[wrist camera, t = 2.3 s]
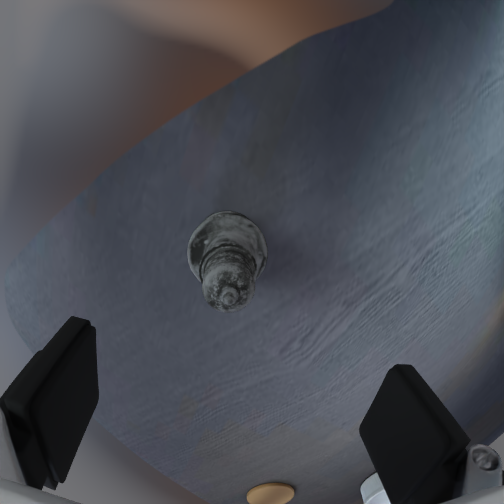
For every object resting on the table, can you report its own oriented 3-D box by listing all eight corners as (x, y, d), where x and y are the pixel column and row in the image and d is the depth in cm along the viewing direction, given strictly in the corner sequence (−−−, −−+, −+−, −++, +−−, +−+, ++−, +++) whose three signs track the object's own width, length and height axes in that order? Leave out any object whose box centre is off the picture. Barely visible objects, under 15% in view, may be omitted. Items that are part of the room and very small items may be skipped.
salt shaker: (273, 257, 28) (306, 324, 16) (211, 286, 28) (205, 368, 17) (243, 195, 26) (258, 221, 15) (179, 226, 26) (146, 276, 15)
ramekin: (357, 499, 41) (364, 517, 37) (356, 476, 38) (364, 497, 34) (404, 480, 41) (413, 497, 37) (408, 455, 38) (419, 474, 34)
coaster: (242, 503, 38) (242, 506, 37) (252, 482, 36) (252, 485, 36) (286, 504, 39) (286, 507, 38) (299, 482, 37) (300, 485, 37)
